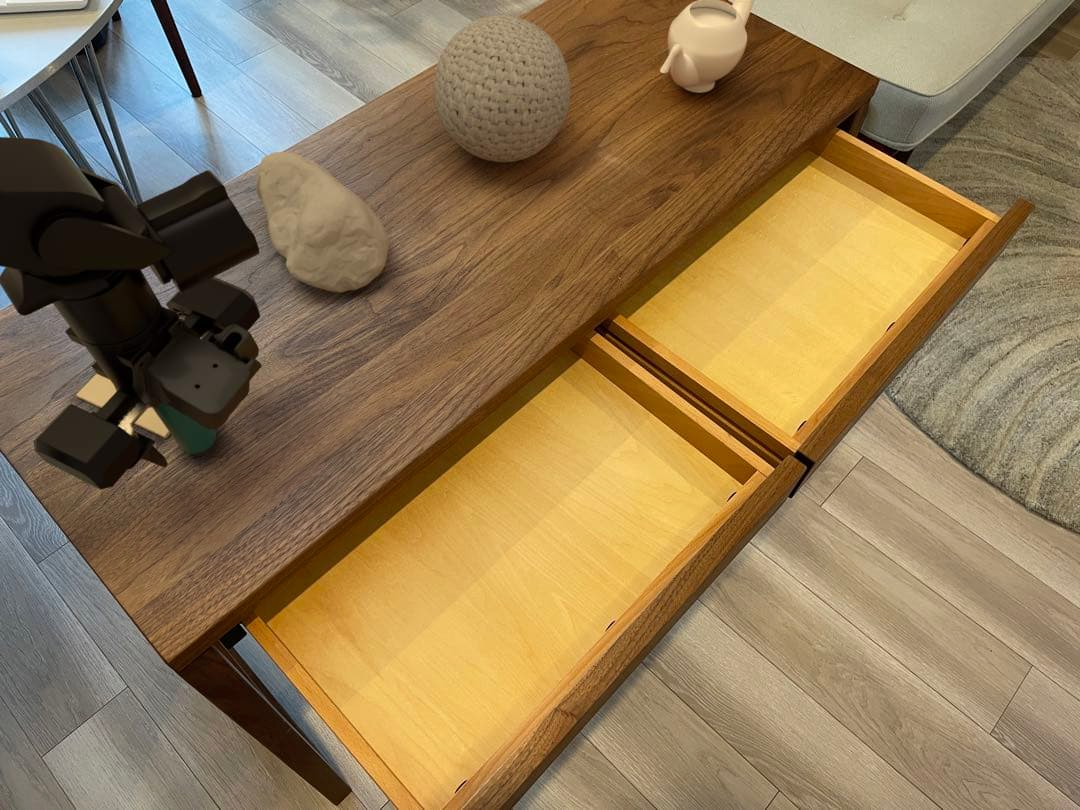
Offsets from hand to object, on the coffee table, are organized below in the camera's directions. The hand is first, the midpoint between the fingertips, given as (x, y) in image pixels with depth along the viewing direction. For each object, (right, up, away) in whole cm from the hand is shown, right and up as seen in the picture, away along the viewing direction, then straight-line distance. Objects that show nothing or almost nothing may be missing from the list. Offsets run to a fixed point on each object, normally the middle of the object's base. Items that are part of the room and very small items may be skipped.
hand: (191, 429), depth 67 cm
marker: (0, -1, +2) cm, 2 cm away
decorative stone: (+7, +19, +16) cm, 25 cm away
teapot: (+50, +44, +33) cm, 75 cm away
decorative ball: (+26, +32, +25) cm, 48 cm away
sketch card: (-6, +5, +6) cm, 9 cm away
